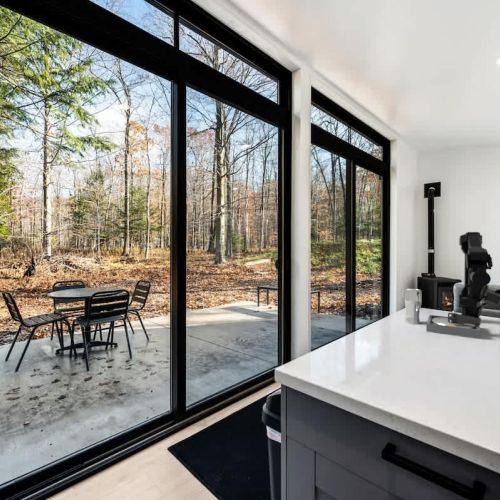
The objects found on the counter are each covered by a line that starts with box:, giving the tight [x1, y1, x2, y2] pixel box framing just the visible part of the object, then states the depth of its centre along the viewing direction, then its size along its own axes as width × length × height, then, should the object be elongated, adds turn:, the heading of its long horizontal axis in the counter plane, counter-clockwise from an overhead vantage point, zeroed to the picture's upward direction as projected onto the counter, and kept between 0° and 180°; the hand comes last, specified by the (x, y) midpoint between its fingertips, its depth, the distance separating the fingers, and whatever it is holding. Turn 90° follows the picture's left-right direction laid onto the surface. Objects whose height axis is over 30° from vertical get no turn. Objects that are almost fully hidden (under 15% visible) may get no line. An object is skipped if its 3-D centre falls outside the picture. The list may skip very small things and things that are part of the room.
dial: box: [432, 312, 481, 329], centre depth 132 cm, size 17×15×5 cm
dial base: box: [425, 314, 482, 340], centre depth 133 cm, size 18×18×4 cm
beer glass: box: [403, 288, 423, 325], centre depth 145 cm, size 7×7×15 cm
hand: (476, 320), depth 128 cm, fingers closed
